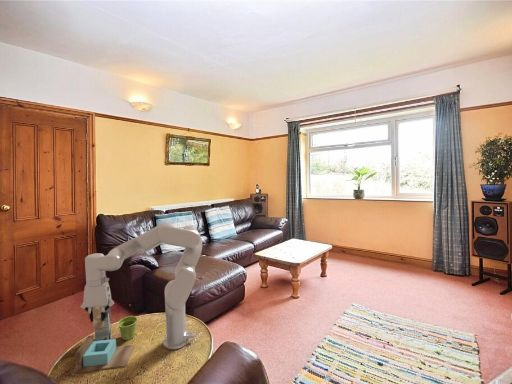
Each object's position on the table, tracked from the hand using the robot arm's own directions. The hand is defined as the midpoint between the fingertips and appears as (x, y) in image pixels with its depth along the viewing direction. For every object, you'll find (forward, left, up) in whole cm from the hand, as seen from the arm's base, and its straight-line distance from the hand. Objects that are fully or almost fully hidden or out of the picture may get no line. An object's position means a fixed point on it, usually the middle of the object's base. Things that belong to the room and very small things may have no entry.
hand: (98, 319), depth 118 cm
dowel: (0, 0, -4) cm, 4 cm away
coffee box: (+4, -14, -19) cm, 24 cm away
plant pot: (-7, -15, -19) cm, 26 cm away
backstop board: (-3, 0, -19) cm, 19 cm away
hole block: (0, 0, -19) cm, 19 cm away
